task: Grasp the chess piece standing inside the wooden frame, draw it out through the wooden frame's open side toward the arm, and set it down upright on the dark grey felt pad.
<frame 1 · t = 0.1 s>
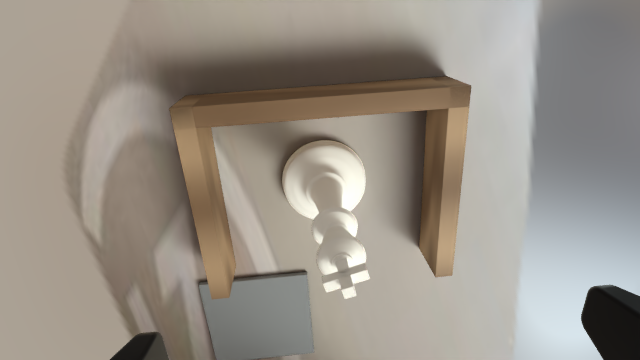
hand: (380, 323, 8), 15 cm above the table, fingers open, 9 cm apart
pad: (260, 317, 26), on the table
wooden frame: (323, 179, 22), on the table
chess piece: (323, 178, 23), on the table
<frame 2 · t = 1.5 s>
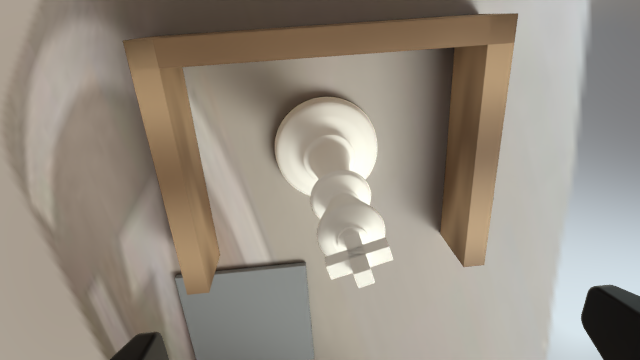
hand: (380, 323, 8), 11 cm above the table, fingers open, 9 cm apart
pad: (250, 318, 22), on the table
wooden frame: (326, 147, 18), on the table
chess piece: (325, 146, 18), on the table
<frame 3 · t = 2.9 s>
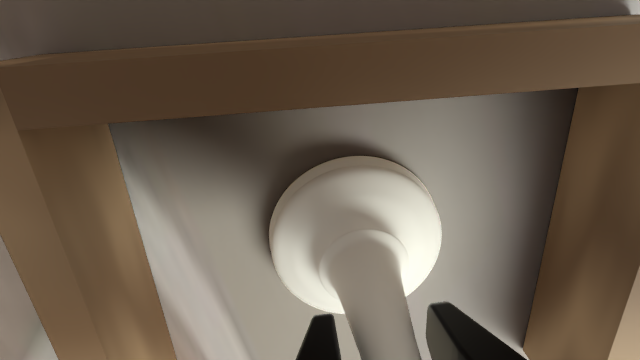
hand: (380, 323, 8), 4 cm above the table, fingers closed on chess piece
wooden frame: (353, 234, 11), on the table
chess piece: (352, 230, 11), on the table, touching gripper
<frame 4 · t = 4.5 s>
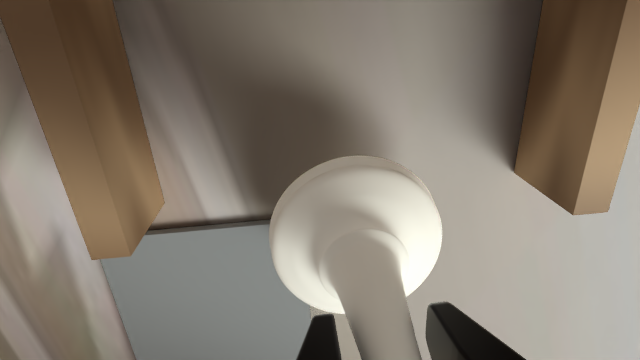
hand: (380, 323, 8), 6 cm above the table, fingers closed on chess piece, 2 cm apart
pad: (217, 304, 15), on the table
wooden frame: (336, 11, 11), on the table
chess piece: (352, 230, 11), point 2 cm above the table, touching gripper
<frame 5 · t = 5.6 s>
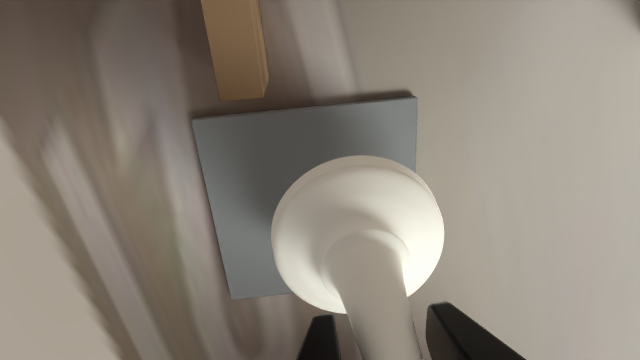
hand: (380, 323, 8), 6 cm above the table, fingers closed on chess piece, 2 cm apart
pad: (314, 205, 13), on the table
chess piece: (354, 230, 11), point 2 cm above the table, touching gripper
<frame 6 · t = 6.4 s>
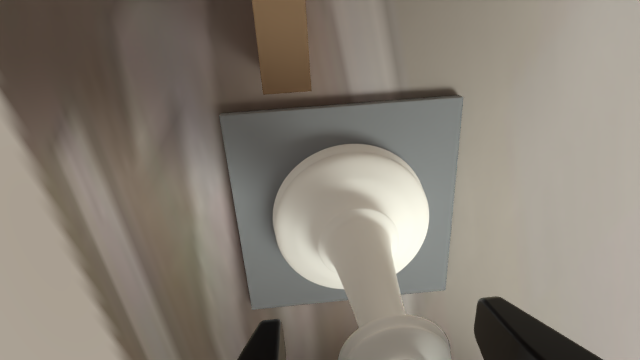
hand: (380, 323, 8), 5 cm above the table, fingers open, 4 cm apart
pad: (345, 209, 12), on the table
chess piece: (348, 213, 12), resting on pad
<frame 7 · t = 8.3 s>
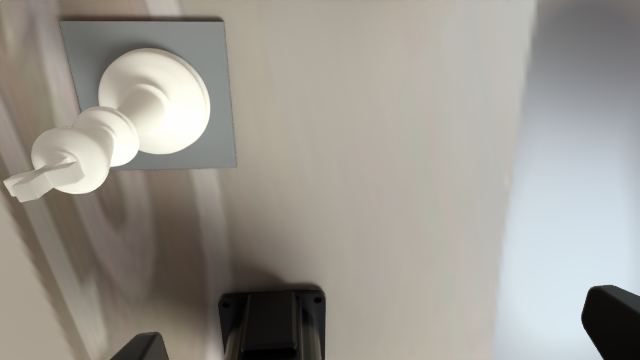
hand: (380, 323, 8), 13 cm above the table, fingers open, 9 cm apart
pad: (157, 99, 18), on the table
chess piece: (158, 101, 18), resting on pad
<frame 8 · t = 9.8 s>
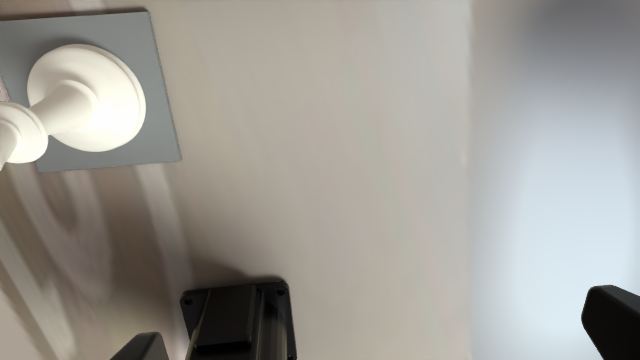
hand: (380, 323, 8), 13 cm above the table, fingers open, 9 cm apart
pad: (92, 96, 18), on the table
chess piece: (93, 98, 18), resting on pad
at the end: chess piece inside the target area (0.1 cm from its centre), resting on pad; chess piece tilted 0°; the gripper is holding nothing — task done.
